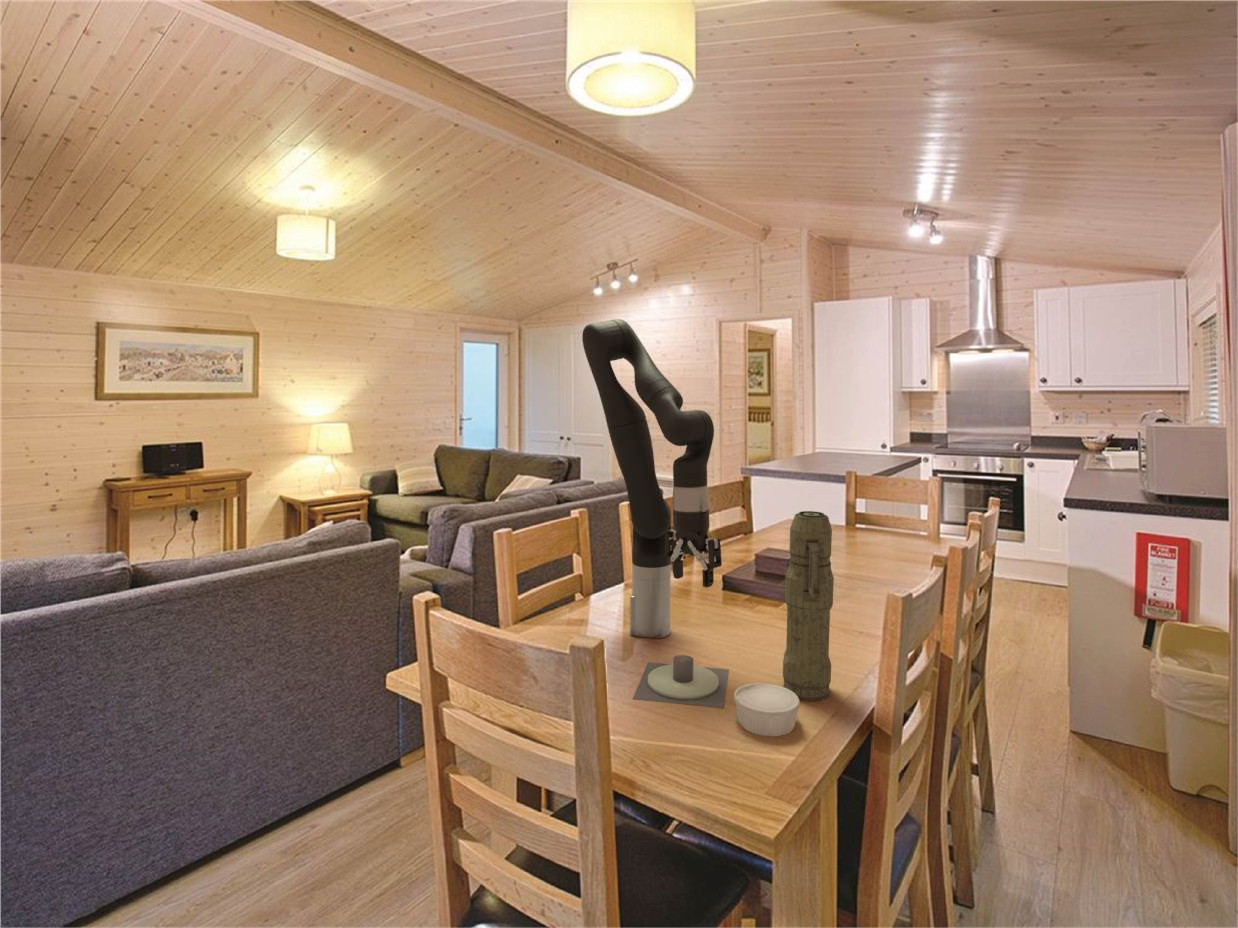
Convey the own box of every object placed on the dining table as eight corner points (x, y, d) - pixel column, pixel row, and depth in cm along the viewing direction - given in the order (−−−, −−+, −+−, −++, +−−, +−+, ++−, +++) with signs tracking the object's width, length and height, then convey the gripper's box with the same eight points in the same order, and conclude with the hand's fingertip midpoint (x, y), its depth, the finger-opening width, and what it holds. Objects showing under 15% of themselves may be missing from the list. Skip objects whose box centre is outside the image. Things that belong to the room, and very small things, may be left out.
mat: (632, 701, 122) (632, 698, 122) (648, 664, 139) (648, 662, 139) (723, 710, 119) (723, 707, 118) (728, 671, 135) (728, 669, 135)
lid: (641, 695, 123) (641, 670, 123) (653, 665, 137) (653, 642, 136) (716, 703, 120) (716, 677, 120) (720, 671, 134) (721, 648, 133)
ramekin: (752, 703, 121) (752, 676, 121) (809, 722, 114) (810, 693, 114) (721, 727, 113) (722, 698, 112) (781, 749, 106) (782, 718, 105)
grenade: (821, 677, 132) (826, 507, 128) (837, 705, 120) (844, 519, 116) (777, 676, 132) (781, 507, 129) (789, 704, 121) (794, 519, 117)
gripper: (654, 505, 138) (656, 579, 140) (703, 513, 127) (705, 593, 129) (679, 500, 143) (681, 571, 145) (729, 508, 132) (730, 585, 134)
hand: (692, 582), depth 137 cm, fingers open, 8 cm apart
